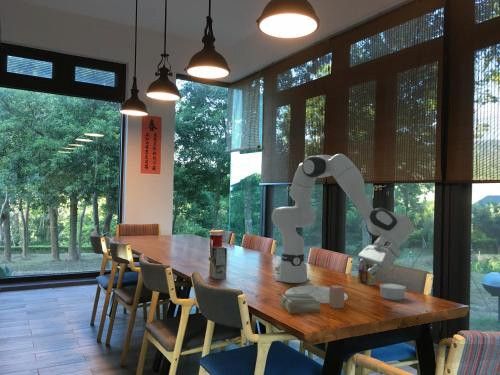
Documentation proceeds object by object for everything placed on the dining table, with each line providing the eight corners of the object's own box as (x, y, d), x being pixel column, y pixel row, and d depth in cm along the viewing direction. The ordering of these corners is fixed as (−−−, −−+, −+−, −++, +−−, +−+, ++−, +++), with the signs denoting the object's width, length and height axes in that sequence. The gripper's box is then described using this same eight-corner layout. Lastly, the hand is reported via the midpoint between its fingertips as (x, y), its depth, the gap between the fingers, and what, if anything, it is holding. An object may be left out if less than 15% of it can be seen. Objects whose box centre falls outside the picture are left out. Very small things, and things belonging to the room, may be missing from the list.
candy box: (376, 284, 204) (376, 255, 204) (370, 285, 202) (370, 255, 202) (363, 281, 212) (364, 252, 212) (357, 282, 210) (358, 253, 210)
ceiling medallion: (300, 306, 163) (300, 298, 163) (276, 289, 190) (276, 283, 190) (360, 302, 171) (360, 295, 171) (329, 287, 198) (329, 281, 198)
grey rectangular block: (329, 305, 164) (329, 285, 164) (339, 304, 165) (339, 285, 165) (333, 308, 159) (334, 288, 160) (343, 307, 160) (344, 287, 161)
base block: (280, 304, 163) (280, 293, 163) (308, 303, 166) (308, 292, 166) (290, 312, 151) (290, 301, 151) (319, 311, 154) (319, 300, 154)
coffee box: (226, 278, 210) (227, 248, 210) (215, 279, 207) (216, 248, 207) (219, 275, 218) (220, 246, 218) (209, 276, 215) (209, 246, 215)
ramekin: (377, 294, 185) (377, 282, 185) (401, 295, 184) (402, 283, 184) (382, 300, 174) (382, 288, 174) (408, 301, 173) (409, 289, 173)
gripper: (367, 238, 177) (346, 261, 175) (394, 244, 157) (371, 269, 155) (376, 248, 178) (355, 271, 176) (403, 255, 158) (381, 281, 156)
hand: (363, 270), depth 165 cm, fingers open, 8 cm apart
